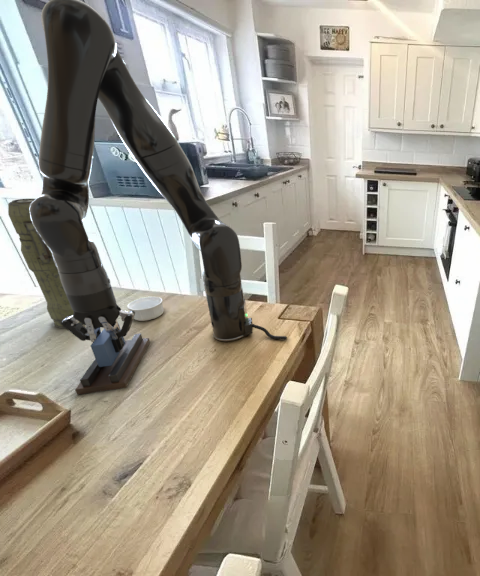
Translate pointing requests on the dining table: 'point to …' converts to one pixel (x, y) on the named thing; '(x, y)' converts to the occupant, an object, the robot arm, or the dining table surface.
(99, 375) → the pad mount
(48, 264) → the olive green tall column
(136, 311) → the ramekin
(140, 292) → the dining table surface
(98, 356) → the back pad
